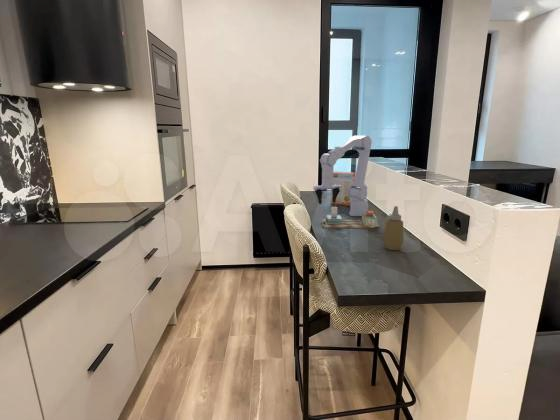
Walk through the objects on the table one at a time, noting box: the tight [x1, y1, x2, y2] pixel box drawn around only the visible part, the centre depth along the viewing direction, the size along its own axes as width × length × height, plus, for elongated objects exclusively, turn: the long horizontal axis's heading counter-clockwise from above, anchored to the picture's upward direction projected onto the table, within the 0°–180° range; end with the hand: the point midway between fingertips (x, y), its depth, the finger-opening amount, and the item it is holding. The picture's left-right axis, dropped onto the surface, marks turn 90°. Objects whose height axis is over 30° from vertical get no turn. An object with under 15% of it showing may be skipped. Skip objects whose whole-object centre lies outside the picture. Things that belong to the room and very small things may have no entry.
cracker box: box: [330, 170, 356, 207], centre depth 207 cm, size 14×6×21 cm, turn 58°
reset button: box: [365, 210, 375, 217], centre depth 165 cm, size 4×4×4 cm
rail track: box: [321, 218, 380, 229], centre depth 167 cm, size 28×9×3 cm, turn 87°
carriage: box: [326, 206, 343, 224], centre depth 166 cm, size 7×7×8 cm
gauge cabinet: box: [361, 213, 378, 226], centre depth 166 cm, size 6×8×5 cm
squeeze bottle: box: [382, 205, 405, 251], centre depth 133 cm, size 8×8×18 cm
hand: (326, 202), depth 170 cm, fingers open, 7 cm apart
